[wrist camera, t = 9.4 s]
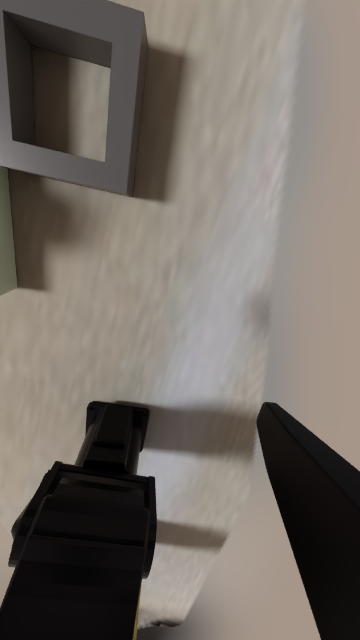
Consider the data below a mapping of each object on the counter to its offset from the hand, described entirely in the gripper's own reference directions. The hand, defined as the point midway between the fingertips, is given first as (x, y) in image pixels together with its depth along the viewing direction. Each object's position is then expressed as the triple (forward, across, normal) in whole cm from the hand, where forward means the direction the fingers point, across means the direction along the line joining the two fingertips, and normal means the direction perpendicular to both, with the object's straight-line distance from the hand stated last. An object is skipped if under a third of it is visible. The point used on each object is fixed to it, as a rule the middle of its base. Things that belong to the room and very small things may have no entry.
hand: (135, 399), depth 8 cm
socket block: (+13, +6, -11) cm, 18 cm away
